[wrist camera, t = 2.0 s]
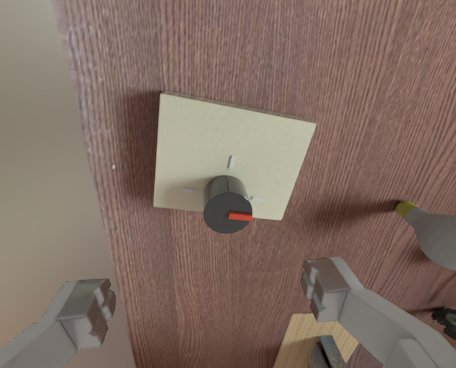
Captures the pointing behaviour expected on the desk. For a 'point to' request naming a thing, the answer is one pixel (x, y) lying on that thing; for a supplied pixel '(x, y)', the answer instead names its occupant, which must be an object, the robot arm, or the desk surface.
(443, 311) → the artificial flower
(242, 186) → the burner knob
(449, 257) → the light bulb
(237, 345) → the desk surface
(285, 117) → the stove panel
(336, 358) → the ruin model on sheet
